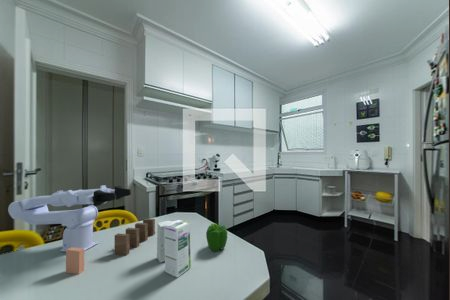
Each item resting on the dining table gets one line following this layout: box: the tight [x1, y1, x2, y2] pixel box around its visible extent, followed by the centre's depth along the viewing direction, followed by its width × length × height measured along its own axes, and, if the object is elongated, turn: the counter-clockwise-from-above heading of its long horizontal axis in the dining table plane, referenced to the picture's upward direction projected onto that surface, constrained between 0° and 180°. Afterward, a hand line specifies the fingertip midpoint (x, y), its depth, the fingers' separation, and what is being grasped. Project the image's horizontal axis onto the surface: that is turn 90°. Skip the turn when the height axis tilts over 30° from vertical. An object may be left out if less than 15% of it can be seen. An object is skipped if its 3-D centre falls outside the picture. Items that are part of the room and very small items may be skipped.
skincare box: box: [156, 219, 176, 263], centre depth 63 cm, size 6×4×12 cm
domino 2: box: [114, 233, 130, 257], centre depth 66 cm, size 2×5×7 cm, turn 79°
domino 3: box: [125, 227, 140, 249], centre depth 71 cm, size 2×5×7 cm, turn 79°
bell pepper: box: [205, 222, 228, 252], centre depth 69 cm, size 8×8×10 cm
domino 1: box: [65, 247, 85, 275], centre depth 56 cm, size 2×5×7 cm, turn 80°
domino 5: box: [142, 218, 156, 237], centre depth 82 cm, size 2×5×7 cm, turn 79°
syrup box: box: [164, 219, 192, 278], centre depth 56 cm, size 6×6×14 cm
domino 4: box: [134, 222, 149, 242], centre depth 77 cm, size 2×5×7 cm, turn 79°
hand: (123, 194), depth 68 cm, fingers open, 7 cm apart
